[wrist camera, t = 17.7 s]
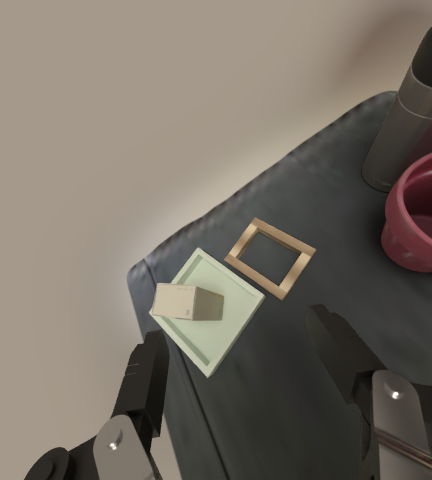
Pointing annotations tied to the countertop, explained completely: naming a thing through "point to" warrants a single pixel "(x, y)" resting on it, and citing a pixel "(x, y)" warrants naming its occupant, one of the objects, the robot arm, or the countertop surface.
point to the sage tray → (212, 332)
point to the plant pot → (410, 218)
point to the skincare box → (187, 303)
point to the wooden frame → (280, 237)
